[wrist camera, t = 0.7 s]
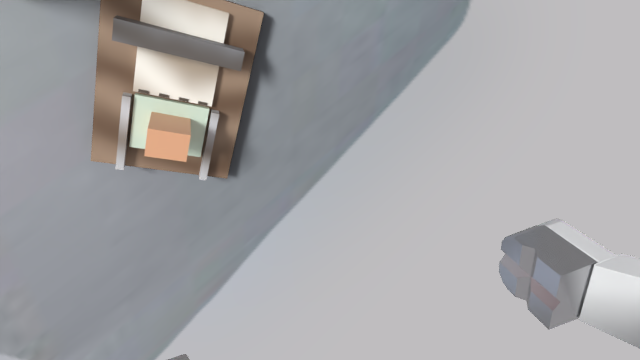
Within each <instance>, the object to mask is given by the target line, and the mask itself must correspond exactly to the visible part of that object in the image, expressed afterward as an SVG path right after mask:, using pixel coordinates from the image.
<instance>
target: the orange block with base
mask: <svg viewBox="0 0 640 360" xmlns="http://www.w3.org/2000/svg"><path fill="white" fill-rule="evenodd" d="M208 114H209V107H204V106H199V105H194V104H189V103H184V102H179V101H174V100H169V99H164V98H158V97H153V96H148V95H143V94H138V93H135V96H134V106H133V115H132V125H131V135H130V144H129V147H134V148H141V149H145V154H144V156H147V157H154V158H161V159H168V160H175V161H183V162H186V161H187V155H189V156H196V157H201V151H202V146H203V141H204V135H205V130H206V125H207V119H208Z"/></svg>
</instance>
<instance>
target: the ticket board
mask: <svg viewBox="0 0 640 360" xmlns="http://www.w3.org/2000/svg"><path fill="white" fill-rule="evenodd" d="M263 15H264V13H263V12H262V11H259V10H255V9H252V8H249V7H246V6H242V5H239V4H236V3H233V2H229V1H226V0H101V3H100V20H99V36H98V52H97V69H96V85H95V102H94V118H93V135H92V151H91V161H96V162H104V163H111V164H116V168H115V169H120V170H124V167H125V165H127V166H135V167H142V168H150V169H158V170H166V171H173V172H181V173H189V174H197V175H199V179H200V180H206V179H207V176H212V177H220V178H227V176H228V172H229V167H230V163H231V158H232V154H233V149H234V145H235V140H236V136H237V131H238V127H239V122H240V118H241V113H242V109H243V104H244V100H245V95H246V91H247V86H248V82H249V78H250V73H251V69H252V64H253V60H254V55H255V51H256V46H257V42H258V37H259V33H260V28H261V24H262V19H263ZM135 93H138V94H143V95H148V96H153V97H158V98H164V99H169V100H174V101H179V102H184V103H189V104H194V105H199V106H204V107H209V114H208V119H207V125H206V130H205V135H204V141H203V146H202V151H201V157H196V156H189V155H187V161H186V162H183V161H175V160H168V159H161V158H154V157H147V156H144V154H145V149H141V148H134V147H129V144H130V135H131V125H132V115H133V106H134V96H135Z"/></svg>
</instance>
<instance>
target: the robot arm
mask: <svg viewBox="0 0 640 360" xmlns="http://www.w3.org/2000/svg"><path fill="white" fill-rule="evenodd" d="M501 250H502V251H503V252H504V253H505V255H504V256H503V258H502V260H501V261H500V265H499V273H500V275H501V278H502V281H503V283H504V284H505V286H506V287H507V289H508V290H509V291H510V292H511V293H512V294H513V295H514V296H515V297H518V298H521V299H524V300H526V301H527V306H528V310H529V311H530V312H531V313H532V314H533V315H534V316H535V317H537V319H538V320H539V321H540V322H542V323H543V324H544V325H545V326H546V327H547V328H548V329H552V328H554V327H557V326H559V325H562V324H565V323H567V322H570V321H572V320H575V319H578V318H579V320H580V321H582V322H584V323H586V324H588V325H590V326H593V327H595V328H597V329H599V330H601V331H603V332H605V333H608V334H610V335H612V336H614V337H616V338H618V339H620V340H623V341H625V342H627V343H629V344H631V345H633V346H636V347H638V348H640V258H638V257H634V256H630V255H626V254H619V255H616V254H614V253H612V252H611V251H610V250H608V249H607V248H605V247H603V246H602V245H600V244H599V243H597V242H596V241H594V240H593V239H591V238H590V237H588V236H587V235H585V234H584V233H582V232H580V231H579V230H577V229H576V228H574V227H573V226H571V225H570V224H568V223H567V222H565V221H563V220H560V219H554V220H551V221H548V222H545V223H542V224H540V225H538V226H534V227H531V228H528V229H526V230H523V231H520V232H518V233H515V234H512V235H510V236H507V237H505V238H504V240H503V241H502V246H501ZM168 360H189V358H188V357H187V355H186V354H183V355H180V356H177V357H175V358H171V359H168Z"/></svg>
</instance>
